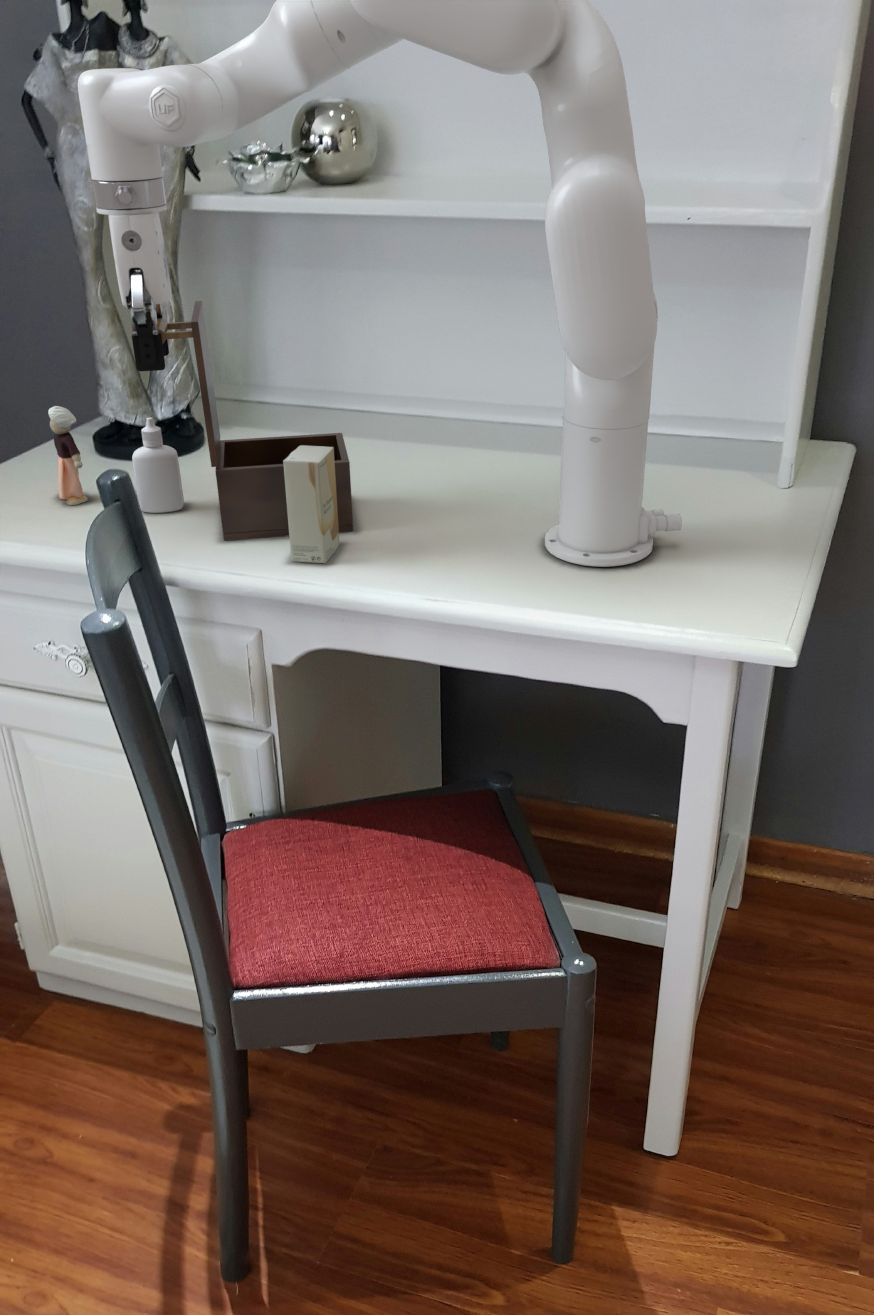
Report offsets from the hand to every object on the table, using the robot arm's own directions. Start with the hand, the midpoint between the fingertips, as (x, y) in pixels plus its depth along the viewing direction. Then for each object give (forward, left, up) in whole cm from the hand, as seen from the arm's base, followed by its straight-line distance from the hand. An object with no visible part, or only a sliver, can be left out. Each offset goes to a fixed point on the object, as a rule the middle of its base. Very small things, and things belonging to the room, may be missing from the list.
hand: (153, 361), depth 129 cm
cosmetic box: (-17, +12, -21) cm, 29 cm away
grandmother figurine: (+14, -12, -21) cm, 28 cm away
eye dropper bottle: (+2, -7, -21) cm, 22 cm away
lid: (-6, 0, -3) cm, 7 cm away
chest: (-14, 0, -21) cm, 25 cm away
